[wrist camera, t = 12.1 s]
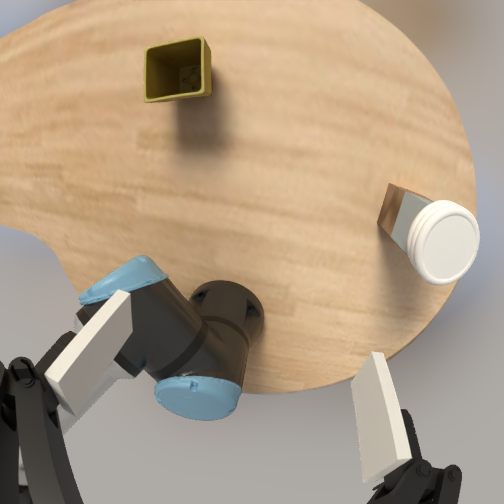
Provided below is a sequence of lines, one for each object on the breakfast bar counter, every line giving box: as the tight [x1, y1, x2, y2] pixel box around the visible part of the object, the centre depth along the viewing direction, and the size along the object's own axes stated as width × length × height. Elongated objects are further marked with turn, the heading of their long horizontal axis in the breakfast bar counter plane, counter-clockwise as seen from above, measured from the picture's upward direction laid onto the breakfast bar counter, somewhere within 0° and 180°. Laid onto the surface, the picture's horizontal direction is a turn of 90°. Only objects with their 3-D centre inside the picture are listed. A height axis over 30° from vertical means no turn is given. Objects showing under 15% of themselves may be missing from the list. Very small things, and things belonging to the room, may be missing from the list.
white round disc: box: [407, 200, 480, 285], centre depth 27 cm, size 10×10×4 cm
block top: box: [390, 191, 433, 256], centre depth 31 cm, size 7×7×7 cm
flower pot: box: [144, 36, 212, 103], centre depth 32 cm, size 9×9×9 cm
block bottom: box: [377, 183, 434, 236], centre depth 38 cm, size 7×7×7 cm
